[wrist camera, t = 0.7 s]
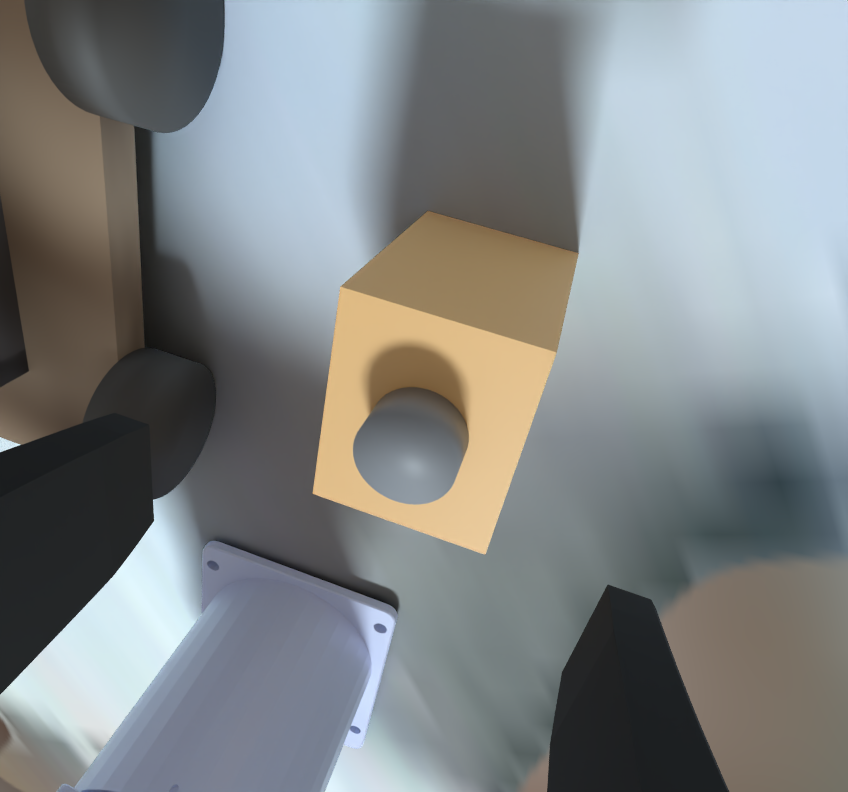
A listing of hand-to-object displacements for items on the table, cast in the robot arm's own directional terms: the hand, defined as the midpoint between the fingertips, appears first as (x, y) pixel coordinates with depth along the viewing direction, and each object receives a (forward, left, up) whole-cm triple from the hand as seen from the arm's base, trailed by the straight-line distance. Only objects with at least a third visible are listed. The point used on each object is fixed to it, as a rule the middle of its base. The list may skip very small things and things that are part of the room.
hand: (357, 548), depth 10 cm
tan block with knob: (0, 0, -9) cm, 9 cm away
